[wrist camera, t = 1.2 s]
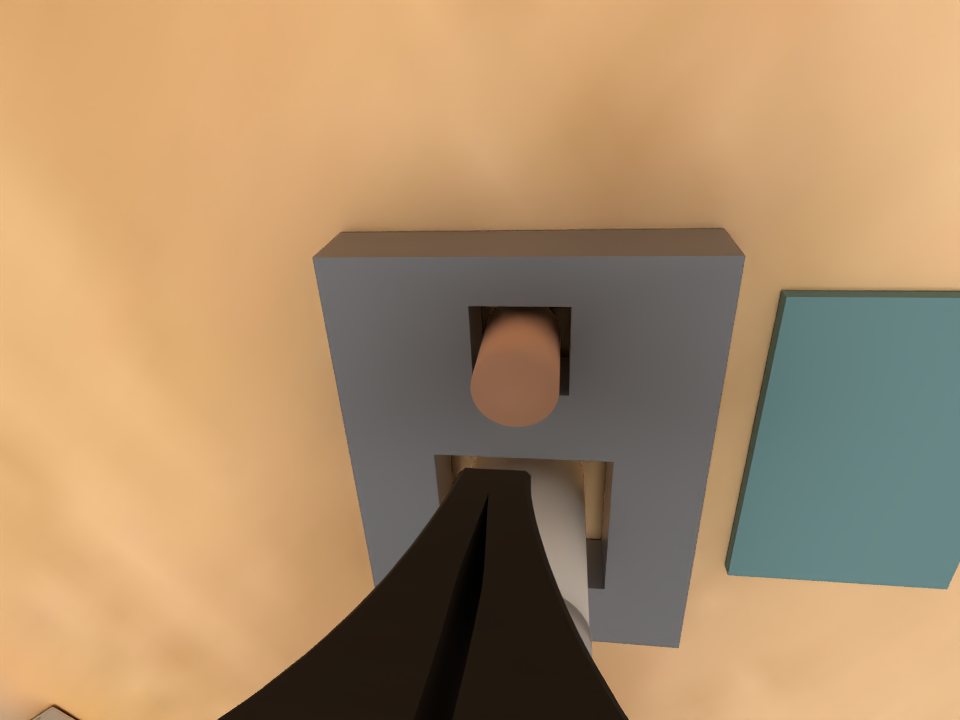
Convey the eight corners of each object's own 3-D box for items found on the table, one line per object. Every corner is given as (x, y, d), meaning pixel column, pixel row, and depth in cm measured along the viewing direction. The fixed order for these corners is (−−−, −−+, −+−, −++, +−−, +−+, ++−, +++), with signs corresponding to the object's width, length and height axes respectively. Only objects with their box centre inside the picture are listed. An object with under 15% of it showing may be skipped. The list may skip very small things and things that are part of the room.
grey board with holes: (669, 595, 26) (678, 648, 23) (396, 576, 27) (381, 623, 25) (723, 228, 18) (745, 255, 16) (340, 232, 20) (312, 257, 17)
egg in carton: (560, 366, 20) (558, 428, 17) (487, 365, 20) (472, 425, 17) (561, 298, 18) (560, 351, 15) (484, 298, 19) (467, 350, 16)
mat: (939, 578, 23) (946, 589, 23) (724, 565, 24) (727, 574, 24) (1070, 291, 18) (1082, 298, 17) (781, 290, 19) (786, 296, 18)
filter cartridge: (583, 524, 24) (589, 722, 17) (474, 518, 25) (437, 707, 18) (587, 434, 22) (595, 618, 15) (467, 430, 23) (423, 605, 16)
